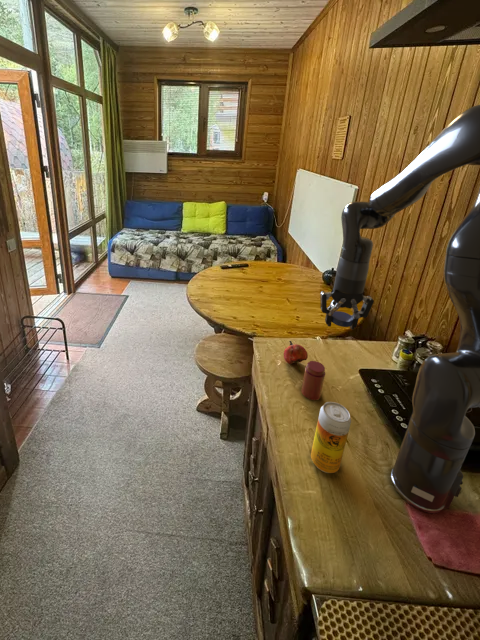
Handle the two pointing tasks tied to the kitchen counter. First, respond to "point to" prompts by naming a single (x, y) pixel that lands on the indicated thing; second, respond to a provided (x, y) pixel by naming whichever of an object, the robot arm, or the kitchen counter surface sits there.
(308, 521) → the kitchen counter surface
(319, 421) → the beer can
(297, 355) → the pomegranate
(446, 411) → the robot arm
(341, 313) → the lid
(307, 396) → the jar
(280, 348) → the kitchen counter surface
